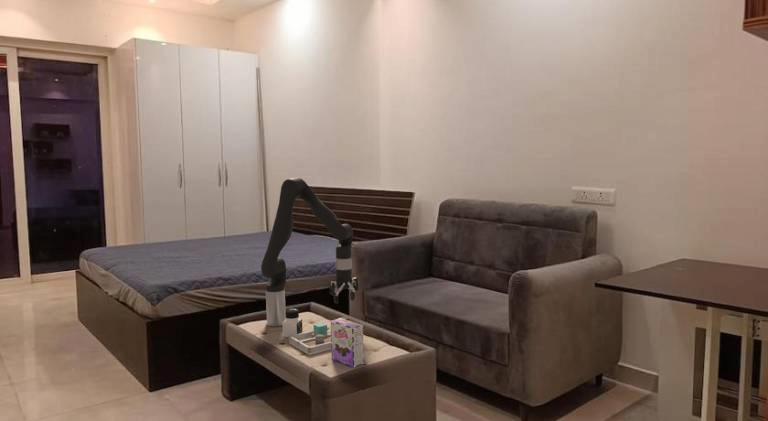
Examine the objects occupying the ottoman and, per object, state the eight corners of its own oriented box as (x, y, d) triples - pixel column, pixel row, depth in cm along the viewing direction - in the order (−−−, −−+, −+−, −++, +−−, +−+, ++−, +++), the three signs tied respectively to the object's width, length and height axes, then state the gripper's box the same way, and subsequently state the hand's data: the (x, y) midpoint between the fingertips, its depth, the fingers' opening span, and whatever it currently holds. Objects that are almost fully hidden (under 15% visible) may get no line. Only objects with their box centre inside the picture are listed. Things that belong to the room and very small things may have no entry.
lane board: (288, 342, 246) (288, 336, 246) (327, 333, 258) (327, 327, 257) (308, 355, 231) (308, 348, 231) (349, 344, 242) (349, 337, 242)
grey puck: (314, 342, 240) (313, 335, 239) (321, 340, 242) (321, 333, 241) (318, 344, 237) (317, 337, 236) (325, 342, 239) (325, 336, 239)
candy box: (330, 359, 226) (329, 320, 224) (341, 355, 230) (340, 317, 228) (353, 368, 216) (352, 327, 214) (364, 364, 220) (363, 324, 218)
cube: (313, 334, 250) (313, 324, 250) (322, 332, 253) (322, 322, 252) (318, 336, 247) (318, 327, 246) (327, 334, 249) (327, 325, 249)
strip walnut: (302, 346, 238) (302, 332, 238) (338, 337, 249) (338, 324, 248) (309, 350, 233) (309, 336, 232) (346, 341, 244) (345, 327, 243)
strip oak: (311, 336, 251) (311, 323, 250) (345, 328, 261) (344, 315, 260) (318, 340, 246) (317, 326, 245) (352, 331, 256) (352, 318, 255)
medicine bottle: (297, 338, 252) (296, 312, 251) (282, 337, 253) (281, 311, 252) (302, 332, 259) (301, 308, 258) (288, 332, 260) (287, 307, 259)
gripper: (352, 263, 261) (352, 297, 263) (326, 268, 253) (326, 302, 255) (361, 266, 255) (361, 300, 257) (334, 271, 247) (335, 306, 249)
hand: (344, 301), depth 256 cm, fingers open, 8 cm apart
